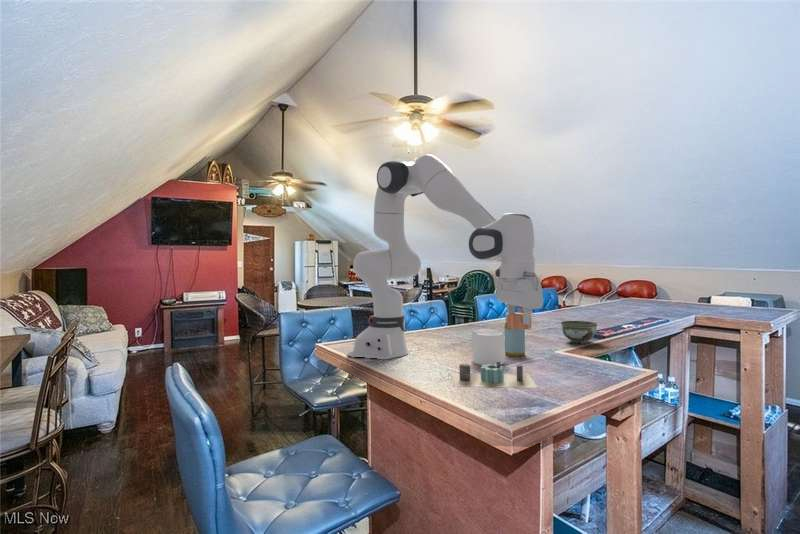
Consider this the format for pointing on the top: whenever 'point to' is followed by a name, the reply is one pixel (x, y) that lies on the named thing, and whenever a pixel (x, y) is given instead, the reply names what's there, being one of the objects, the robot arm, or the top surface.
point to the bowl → (579, 330)
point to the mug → (488, 347)
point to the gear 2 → (517, 322)
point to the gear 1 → (492, 373)
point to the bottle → (514, 341)
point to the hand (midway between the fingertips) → (518, 321)
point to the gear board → (474, 380)
